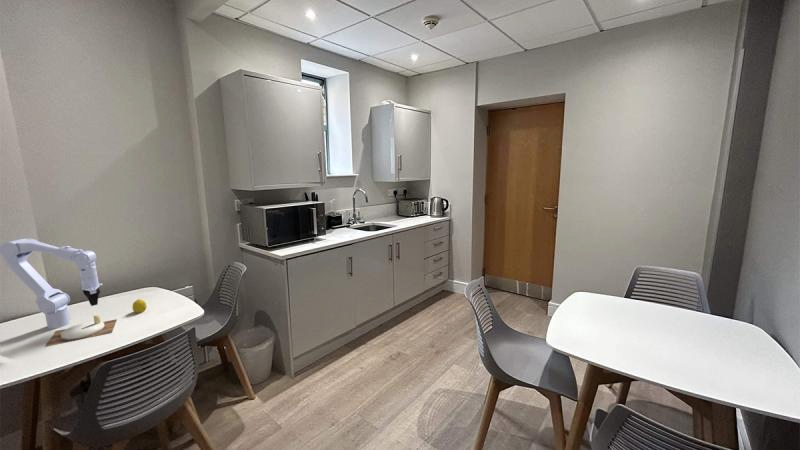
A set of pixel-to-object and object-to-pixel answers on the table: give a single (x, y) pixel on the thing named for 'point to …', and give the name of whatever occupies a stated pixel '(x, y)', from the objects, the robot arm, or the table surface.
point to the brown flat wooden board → (58, 340)
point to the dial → (83, 329)
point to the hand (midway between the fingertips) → (93, 304)
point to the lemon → (139, 306)
